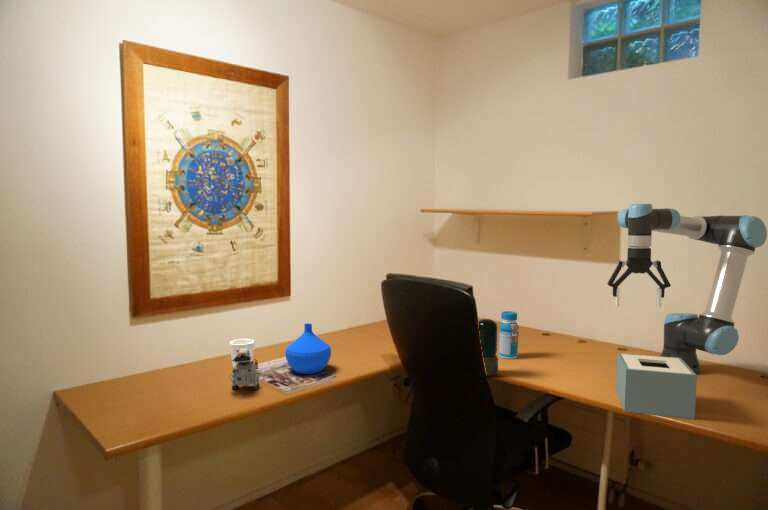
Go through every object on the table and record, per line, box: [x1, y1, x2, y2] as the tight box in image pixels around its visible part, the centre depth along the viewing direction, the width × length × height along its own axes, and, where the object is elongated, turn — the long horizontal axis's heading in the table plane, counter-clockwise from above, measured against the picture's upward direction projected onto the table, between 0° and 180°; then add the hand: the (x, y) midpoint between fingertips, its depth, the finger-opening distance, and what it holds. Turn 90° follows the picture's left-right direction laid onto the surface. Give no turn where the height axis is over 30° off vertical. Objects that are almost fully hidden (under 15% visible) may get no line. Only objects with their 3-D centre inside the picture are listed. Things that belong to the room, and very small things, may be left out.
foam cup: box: [228, 338, 255, 368], centre depth 202 cm, size 10×9×13 cm
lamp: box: [477, 318, 499, 377], centre depth 203 cm, size 10×10×22 cm
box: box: [615, 352, 698, 420], centre depth 171 cm, size 20×20×14 cm
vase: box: [284, 322, 332, 375], centre depth 206 cm, size 18×18×19 cm
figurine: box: [229, 348, 261, 391], centre depth 183 cm, size 9×12×15 cm
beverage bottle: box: [498, 310, 520, 360], centre depth 226 cm, size 8×8×20 cm
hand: (637, 306), depth 183 cm, fingers open, 13 cm apart
